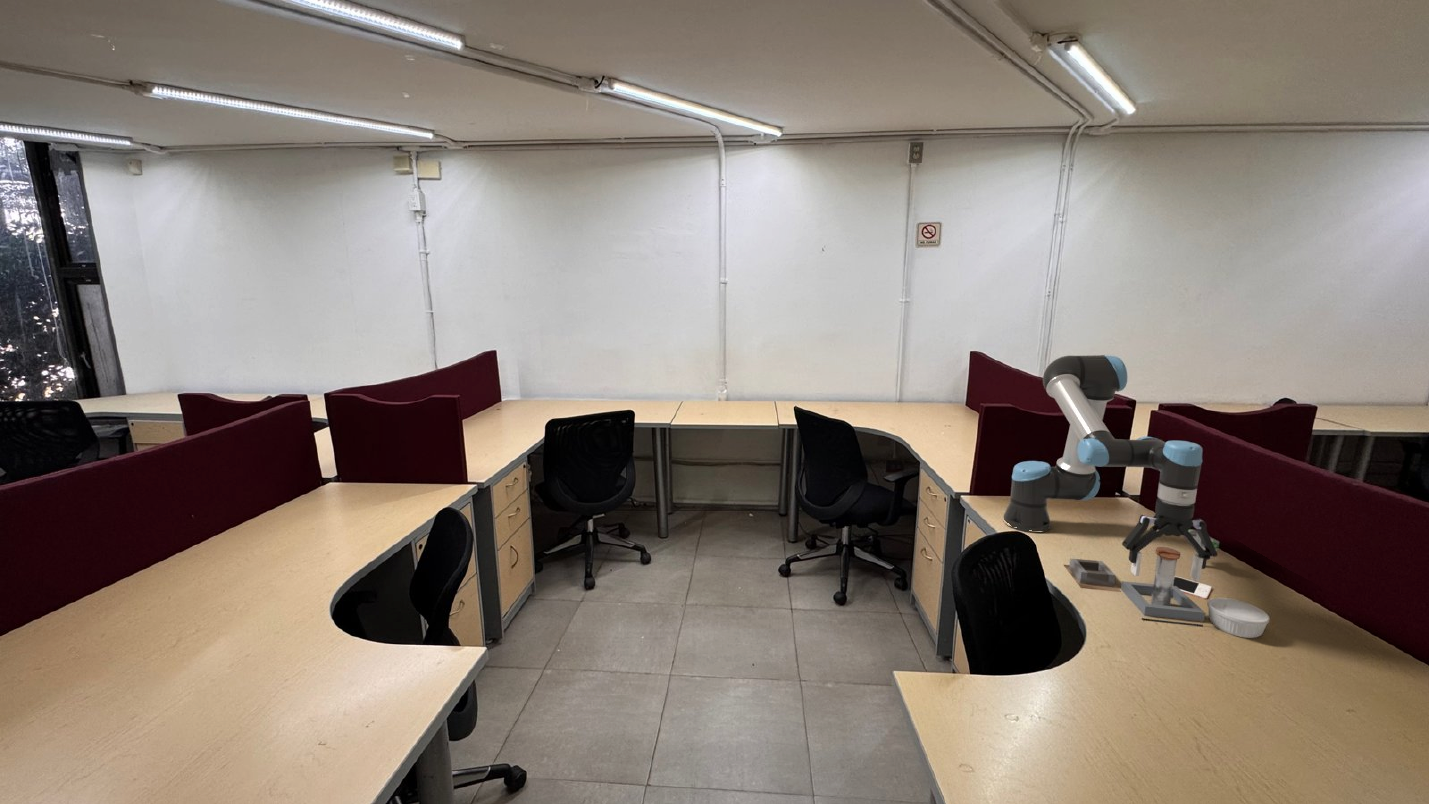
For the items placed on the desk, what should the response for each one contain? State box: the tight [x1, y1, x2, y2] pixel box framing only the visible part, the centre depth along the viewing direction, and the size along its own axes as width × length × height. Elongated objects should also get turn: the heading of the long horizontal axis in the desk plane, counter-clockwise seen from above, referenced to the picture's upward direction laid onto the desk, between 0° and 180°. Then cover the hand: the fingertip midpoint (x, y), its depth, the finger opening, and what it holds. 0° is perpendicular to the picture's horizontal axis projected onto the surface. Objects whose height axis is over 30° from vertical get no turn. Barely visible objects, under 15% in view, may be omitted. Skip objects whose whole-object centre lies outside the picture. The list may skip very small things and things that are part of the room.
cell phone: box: [1173, 575, 1213, 600], centre depth 159 cm, size 9×18×1 cm, turn 41°
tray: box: [1120, 581, 1206, 628], centre depth 145 cm, size 13×13×4 cm
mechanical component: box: [1188, 528, 1220, 554], centre depth 167 cm, size 3×10×10 cm, turn 174°
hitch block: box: [1063, 558, 1122, 593], centre depth 159 cm, size 14×10×5 cm
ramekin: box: [1206, 597, 1270, 639], centre depth 137 cm, size 11×11×5 cm
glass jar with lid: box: [1150, 546, 1181, 606], centre depth 144 cm, size 5×5×16 cm
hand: (1164, 576), depth 143 cm, fingers open, 13 cm apart
